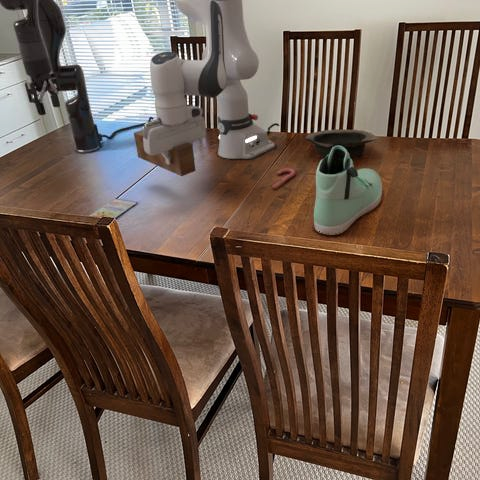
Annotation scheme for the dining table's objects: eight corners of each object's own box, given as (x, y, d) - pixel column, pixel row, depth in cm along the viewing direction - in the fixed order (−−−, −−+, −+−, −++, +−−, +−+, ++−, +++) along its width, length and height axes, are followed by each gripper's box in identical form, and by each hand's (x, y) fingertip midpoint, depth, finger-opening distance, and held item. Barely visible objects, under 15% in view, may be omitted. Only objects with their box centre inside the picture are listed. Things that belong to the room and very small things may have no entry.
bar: (138, 157, 155) (133, 132, 151) (151, 152, 158) (147, 128, 154) (181, 176, 140) (177, 149, 136) (195, 170, 143) (192, 144, 138)
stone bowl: (333, 173, 159) (333, 147, 155) (293, 156, 179) (291, 132, 175) (391, 155, 168) (392, 129, 164) (346, 141, 188) (345, 118, 184)
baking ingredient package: (82, 218, 143) (114, 198, 155) (83, 220, 144) (114, 199, 155) (105, 223, 140) (136, 202, 151) (106, 224, 140) (136, 203, 151)
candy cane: (259, 187, 155) (259, 183, 155) (283, 170, 165) (283, 166, 165) (275, 190, 152) (275, 186, 151) (298, 173, 162) (298, 169, 162)
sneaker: (389, 187, 148) (396, 123, 138) (356, 242, 123) (361, 168, 112) (346, 181, 154) (350, 119, 144) (306, 232, 129) (307, 161, 118)
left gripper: (32, 62, 137) (48, 117, 146) (58, 52, 149) (71, 104, 157) (9, 62, 139) (26, 117, 147) (37, 52, 151) (51, 104, 159)
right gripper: (147, 126, 128) (155, 174, 135) (206, 107, 139) (211, 152, 146) (134, 121, 132) (143, 168, 139) (193, 104, 143) (198, 148, 150)
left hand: (49, 110), depth 152 cm, fingers open, 8 cm apart
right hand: (178, 160), depth 143 cm, fingers closed on bar, 5 cm apart
